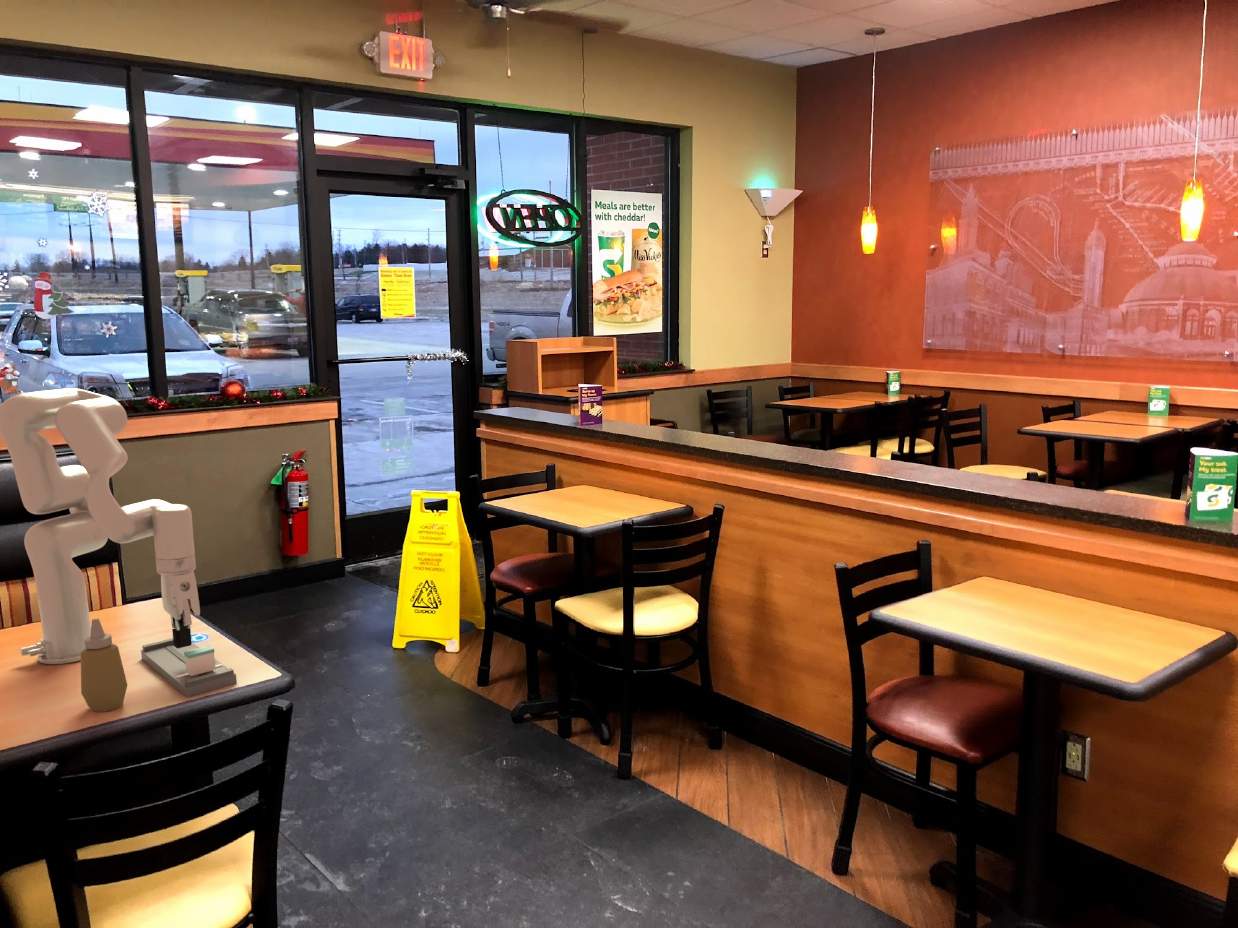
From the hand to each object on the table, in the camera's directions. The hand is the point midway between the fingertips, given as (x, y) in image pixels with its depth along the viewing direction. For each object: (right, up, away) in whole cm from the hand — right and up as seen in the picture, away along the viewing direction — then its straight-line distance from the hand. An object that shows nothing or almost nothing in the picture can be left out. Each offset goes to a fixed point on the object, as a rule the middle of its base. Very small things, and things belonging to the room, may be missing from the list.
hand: (182, 645), depth 209 cm
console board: (0, -6, +2) cm, 6 cm away
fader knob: (+6, -4, -6) cm, 10 cm away
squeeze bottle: (-8, -9, -16) cm, 20 cm away
